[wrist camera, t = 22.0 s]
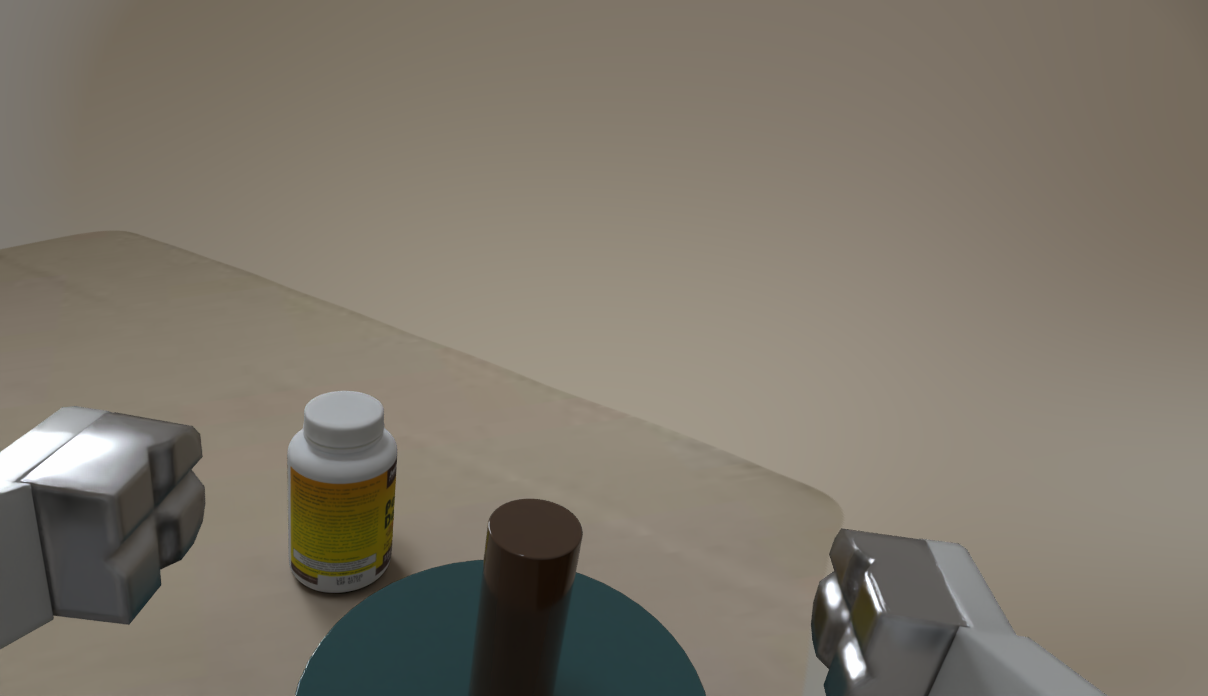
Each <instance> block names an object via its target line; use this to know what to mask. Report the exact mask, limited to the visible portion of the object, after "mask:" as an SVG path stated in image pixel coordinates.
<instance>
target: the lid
mask: <svg viewBox="0 0 1208 696" xmlns="http://www.w3.org/2000/svg"><path fill="white" fill-rule="evenodd" d="M582 535H583V532H582V527H581V524H580V522H579V520H578V519H577V518H576V516H575V515H574V514H573V513H571V512H570V511H569V510H567V509H566V508H564V507H562V506H560V505H558V504H556V503H553V502H550V501H546V500H540V499H519V500H514V501H511V502H508V503H505V504H503V505H502V506H500V507H498V508H497V509H496V510H495V511H494V512H493V513H492V515H491V516H490V518H489V521H488V527H487V535H486V544H485V552H484V560H474V561H466V562H458V563H452V564H448V565H443V566H439V567H434V568H431V569H428V570H424V571H421V572H418V573H415V574H412V575H410V576H407V577H405V578H403V579H401V580H398V581H396V582H394V583H391V584H389V585H388V586H386V587H384V588H382V589H381V590H379V591H377V592H375V593H374V594H372V595H370V596H369V597H368V598H366V599H365V600H363V601H362V602H361V603H359V604H358V605H356V606H355V607H354V608H352V609H351V610H350V611H349V612H348V613H347V614H346V615H345V616H344V617H343V618H342V619H340V620H339V621H338V622H337V623H336V624H335V625H334V626H333V628H332V629H331V630H330V631H329V632H328V634H327V635H326V636H325V637H324V638H323V639H322V641H321V642H320V644H319V645H318V647H317V648H316V650H315V651H314V653H313V655H312V656H311V658H310V659H309V661H308V663H307V665H306V667H305V669H304V672H303V674H302V676H301V678H300V680H299V683H298V686H297V690H296V693H295V696H706V694H705V690H704V688H703V686H702V683H701V681H700V679H699V676H698V674H697V672H696V670H695V668H694V666H693V665H692V663H691V661H690V660H689V658H688V656H687V654H686V653H685V651H684V650H683V649H682V647H681V646H680V645H679V643H678V642H677V641H676V640H675V638H674V637H673V636H672V634H671V633H670V632H669V631H668V630H667V629H666V628H665V627H664V626H663V625H662V624H661V623H660V622H659V621H658V620H657V619H656V618H655V617H654V616H652V615H651V614H650V613H649V612H648V611H646V610H645V609H644V608H643V607H642V606H640V605H639V604H637V603H636V602H634V601H633V600H631V599H630V598H628V597H627V596H626V595H624V594H623V593H621V592H619V591H617V590H615V589H613V588H611V587H610V586H608V585H606V584H604V583H602V582H600V581H597V580H595V579H592V578H590V577H588V576H585V575H583V574H580V573H577V572H576V569H577V564H578V558H579V553H580V547H581V542H582Z"/></svg>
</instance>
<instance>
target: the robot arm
mask: <svg viewBox="0 0 1208 696" xmlns="http://www.w3.org/2000/svg"><path fill="white" fill-rule="evenodd" d="M202 457H203V456H202V446H201V437H200V433H199V432H198V431H197V430H196V429H195V428H194V427H193V426H189V425H183V424H178V423H172V422H167V421H161V420H155V419H150V418H144V417H138V416H133V415H127V414H121V413H116V412H115V413H112V412H109V411H104V410H98V409H91V408H84V407H78V406H72V407H62V408H61V409H60V410H58V411H57V412H56V413H54V414H53V415H51V416H50V417H49V418H47V419H46V420H44V421H43V422H42V423H40V424H39V425H38V426H36V427H35V428H33V429H32V430H31V431H29V432H28V433H26V434H25V435H24V436H22V437H21V438H20V439H18V440H17V441H15V442H14V443H13V444H11V445H10V446H9V447H7V448H6V449H4V450H3V451H2V452H0V649H2V648H3V647H5V646H7V645H9V644H11V643H12V642H14V641H16V640H18V639H19V638H21V637H23V636H25V635H27V634H28V633H30V632H32V631H34V630H35V629H37V628H39V627H41V626H43V625H44V624H46V623H48V622H50V621H51V620H53V618H54V617H53V615H54V616H62V617H70V618H78V619H86V620H95V621H103V622H111V623H119V624H128V625H129V624H130V623H131V622H132V621H133V619H134V618H135V617H136V616H137V614H138V613H139V612H140V611H141V609H142V608H143V607H144V606H145V604H146V603H147V602H148V601H149V599H150V598H151V597H152V596H153V595H154V593H155V592H156V591H157V590H158V588H159V587H160V586H161V576H160V569H163V568H165V567H167V566H169V565H171V564H173V563H176V562H178V561H180V560H182V558H183V557H184V556H185V554H186V553H187V552H188V550H189V549H190V548H191V546H192V545H193V544H194V541H195V539H196V537H197V534H198V532H199V529H200V527H201V524H202V522H203V516H204V509H205V486H204V485H203V484H202V483H201V481H200V480H199V479H198V478H197V476H196V475H195V474H194V472H193V471H192V470H191V469H192V468H193V467H194V466H195V465H196V464H197V462H198V461H199V460H200V459H201V458H202ZM829 555H830V558H831V562H832V565H833V568H834V572H832V573H831V574H829V575H828V576H827V577H825V578H824V579H822V580H821V581H820V582H819V585H818V588H817V592H816V595H815V598H814V602H813V610H812V620H811V629H812V641H813V645H814V649H815V653H816V657H817V658H818V659H819V660H820V661H821V662H822V663H823V664H824V665H825V666H826V667H827V668H828V669H829V671H828V674H827V677H826V680H825V683H824V689H825V693H826V696H1107V695H1106V694H1105V693H1103V692H1102V691H1101V690H1099V689H1098V688H1097V687H1095V686H1094V685H1093V684H1091V683H1090V682H1089V681H1087V680H1086V679H1084V678H1083V677H1082V676H1080V675H1079V674H1078V673H1076V672H1075V671H1073V670H1072V669H1071V668H1070V667H1068V666H1067V665H1065V664H1064V663H1063V662H1062V661H1060V660H1059V659H1057V658H1056V657H1055V656H1053V655H1052V654H1051V653H1049V652H1048V651H1047V650H1045V649H1044V648H1043V647H1041V646H1040V645H1039V644H1037V643H1036V642H1035V641H1033V640H1032V639H1030V638H1029V637H1023V636H1017V635H1016V633H1015V632H1014V630H1013V628H1012V626H1011V625H1010V623H1009V621H1008V620H1007V618H1006V616H1005V614H1004V613H1003V611H1002V609H1001V607H1000V606H999V604H998V602H997V601H996V599H995V597H994V595H993V594H992V592H991V590H990V588H989V587H988V585H987V583H986V582H985V580H984V578H983V576H982V575H981V573H980V571H979V569H978V568H977V566H976V564H975V562H974V561H973V559H972V557H971V556H970V554H969V552H968V550H967V549H966V548H964V547H963V546H962V545H960V544H959V543H952V542H943V541H935V540H927V539H913V538H906V537H899V536H892V535H885V534H878V533H870V532H863V531H856V530H849V529H842V528H841V530H840V531H839V533H838V534H837V535H836V537H835V539H834V542H833V544H832V547H831V550H830V553H829Z"/></svg>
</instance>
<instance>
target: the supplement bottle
mask: <svg viewBox="0 0 1208 696" xmlns="http://www.w3.org/2000/svg"><path fill="white" fill-rule="evenodd" d="M396 465H397V445H396V442H395V439H394V438H393V436H392V435H391V434H390V432H389V431H387V430H386V429H385V428H384V408H383V405H382V404H381V402H379V401H378V400H377V399H376V398H374V397H372V396H370V395H368V394H365V393H361V392H355V391H336V392H330V393H326V394H322V395H319V396H317V397H315V398H314V399H312V400H311V401H310V402H309V403H308V404H307V405H306V407H305V410H304V425H303V429H302V430H300V431H299V432H298V433H297V434H296V435H295V436H294V437H293V439H292V440H291V442H290V444H289V447H288V454H287V482H288V549H289V565H290V568H291V571H292V573H293V574H294V576H295V577H296V578H297V579H298V580H299V581H300V582H301V583H302V584H304V585H305V586H307V587H309V588H311V589H314V590H317V591H321V592H328V593H342V592H349V591H353V590H357V589H360V588H363V587H365V586H367V585H369V584H371V583H372V582H374V581H375V580H377V579H378V578H379V577H380V576H381V575H382V574H383V573H384V572H385V570H386V569H387V567H388V565H389V562H390V559H391V551H392V537H393V520H394V500H395V484H396Z"/></svg>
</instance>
